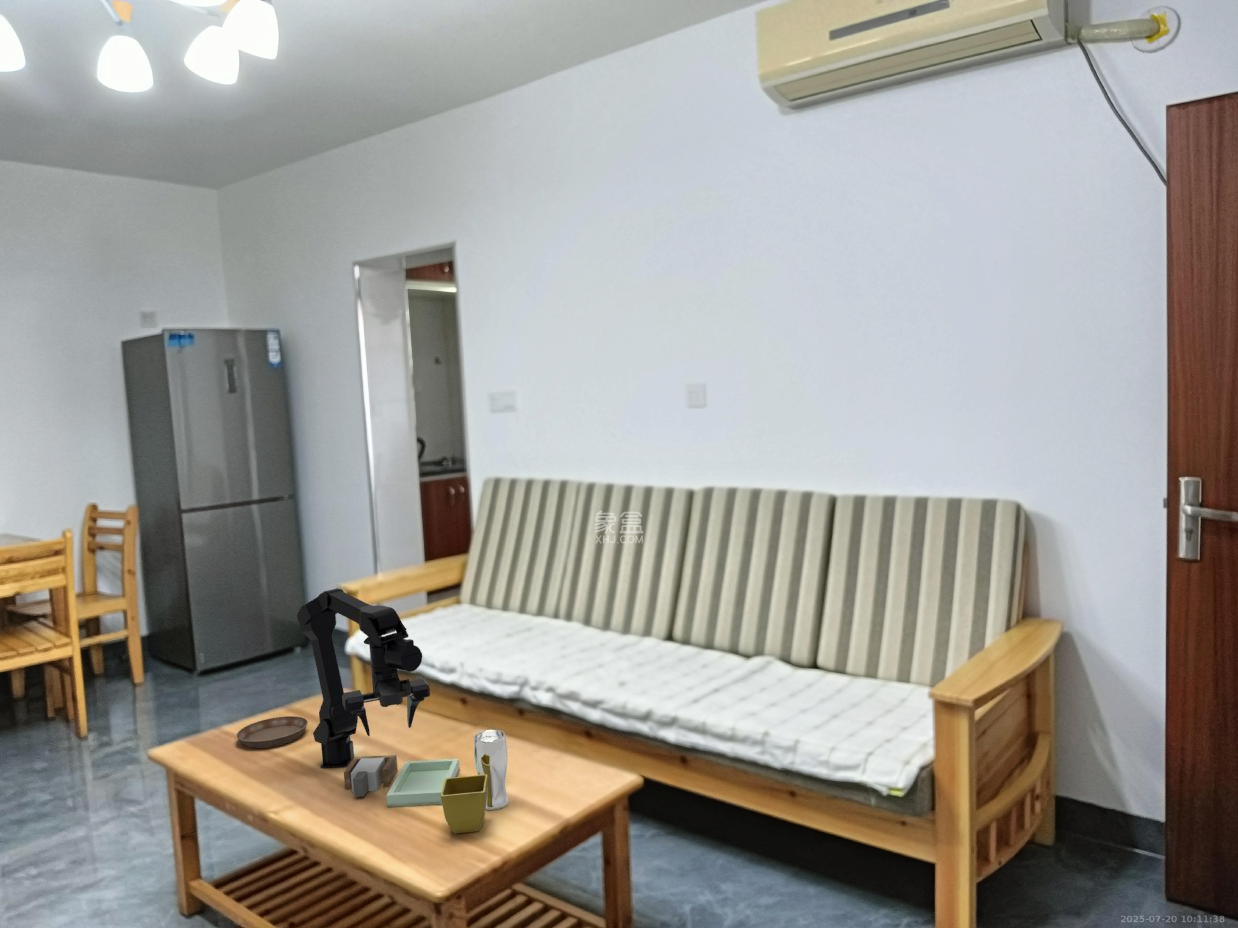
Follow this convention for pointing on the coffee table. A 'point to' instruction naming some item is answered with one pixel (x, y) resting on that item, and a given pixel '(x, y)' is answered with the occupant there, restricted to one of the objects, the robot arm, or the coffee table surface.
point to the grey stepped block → (367, 776)
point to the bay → (387, 771)
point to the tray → (421, 782)
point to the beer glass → (492, 765)
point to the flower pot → (464, 802)
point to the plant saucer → (272, 731)
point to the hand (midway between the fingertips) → (389, 731)
